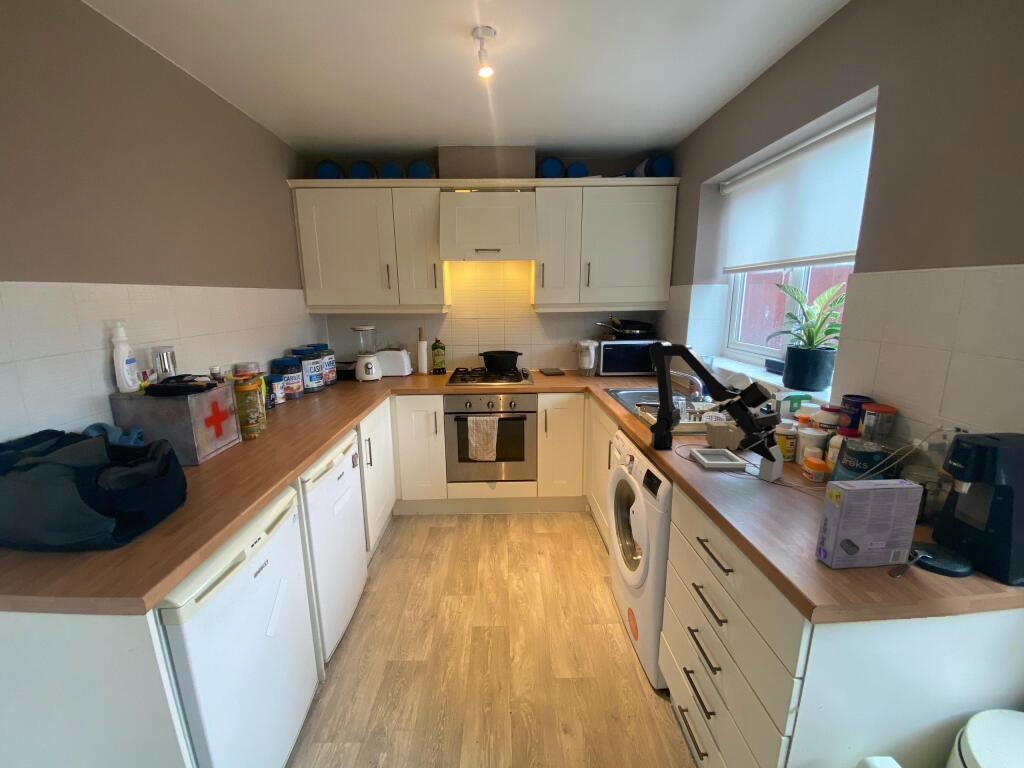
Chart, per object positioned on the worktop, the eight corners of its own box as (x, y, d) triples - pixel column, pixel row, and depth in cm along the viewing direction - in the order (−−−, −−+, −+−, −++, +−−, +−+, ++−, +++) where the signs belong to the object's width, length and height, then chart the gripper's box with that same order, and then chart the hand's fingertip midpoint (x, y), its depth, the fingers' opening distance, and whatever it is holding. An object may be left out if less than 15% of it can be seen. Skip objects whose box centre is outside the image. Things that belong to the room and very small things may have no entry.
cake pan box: (889, 550, 91) (905, 476, 87) (913, 564, 86) (932, 486, 82) (811, 556, 89) (824, 480, 85) (831, 571, 84) (846, 491, 80)
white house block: (780, 476, 128) (785, 446, 126) (771, 482, 124) (775, 451, 122) (768, 472, 131) (772, 443, 129) (758, 477, 127) (762, 447, 125)
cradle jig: (705, 470, 133) (706, 462, 132) (689, 455, 145) (690, 448, 145) (745, 470, 132) (746, 463, 132) (725, 455, 145) (726, 449, 144)
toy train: (754, 450, 150) (758, 424, 148) (710, 451, 149) (713, 425, 147) (744, 445, 156) (748, 420, 154) (702, 446, 154) (704, 420, 152)
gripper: (756, 407, 119) (795, 453, 114) (773, 397, 132) (809, 438, 127) (724, 427, 126) (760, 471, 121) (743, 415, 139) (776, 455, 134)
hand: (777, 458), depth 125 cm, fingers open, 7 cm apart
